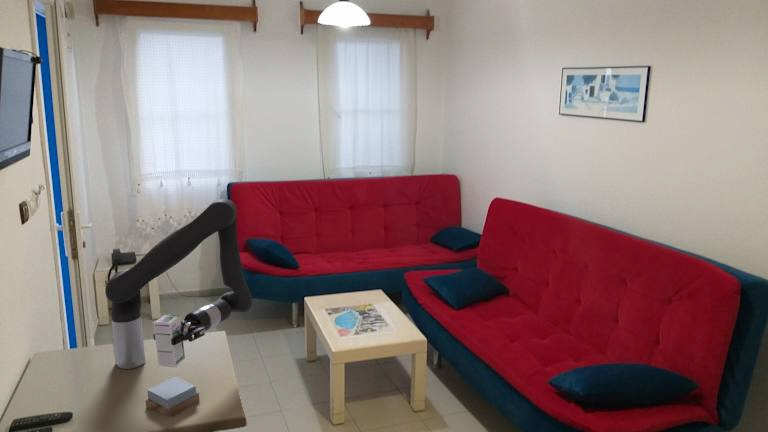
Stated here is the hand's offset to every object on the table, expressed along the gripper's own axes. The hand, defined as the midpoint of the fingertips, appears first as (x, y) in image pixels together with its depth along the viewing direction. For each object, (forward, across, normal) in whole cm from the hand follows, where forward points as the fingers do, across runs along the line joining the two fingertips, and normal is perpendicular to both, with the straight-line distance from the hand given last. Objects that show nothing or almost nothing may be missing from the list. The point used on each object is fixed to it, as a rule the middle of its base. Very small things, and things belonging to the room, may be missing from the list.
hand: (163, 339), depth 176 cm
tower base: (-1, 0, +22) cm, 22 cm away
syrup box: (-2, 0, +9) cm, 9 cm away
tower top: (-1, 0, +19) cm, 19 cm away
